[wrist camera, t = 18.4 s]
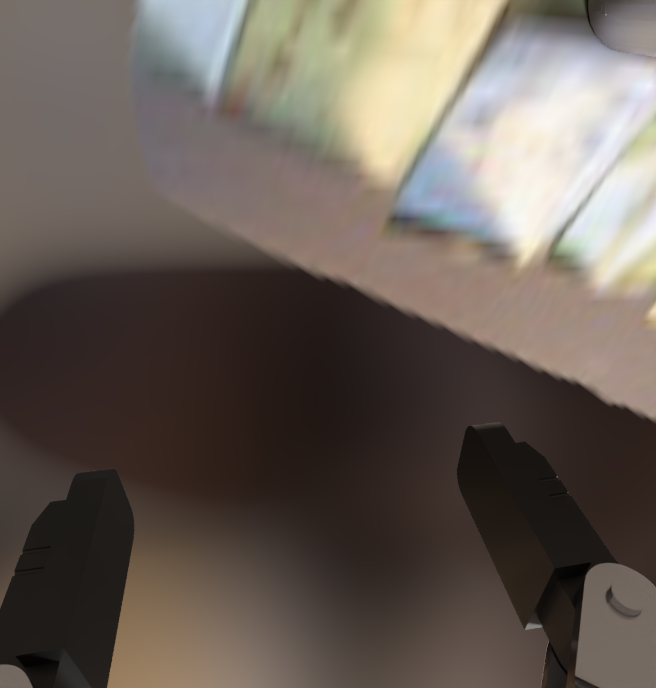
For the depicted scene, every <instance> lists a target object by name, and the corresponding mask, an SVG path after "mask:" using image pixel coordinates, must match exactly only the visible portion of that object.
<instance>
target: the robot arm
mask: <svg viewBox="0 0 656 688" xmlns="http://www.w3.org/2000/svg"><path fill="white" fill-rule="evenodd" d="M588 12H589V18H590V23H591V26H592V28H593V30H594V33H595V35H596V36H597V37H598V39H599V40H600V41H601V42H602V44H604V45H605V46H607V47H609V48H610V49H612V50H616V51H620V52H626V53H633V54H641V55H648V56H654V57H656V0H588ZM457 480H458V485H459V488H460V492H461V494H462V496H463V499H464V501H465V503H466V505H467V507H468V509H469V512H470V514H471V516H472V518H473V520H474V522H475V524H476V527H477V529H478V531H479V533H480V535H481V537H482V540H483V542H484V544H485V546H486V548H487V550H488V552H489V554H490V557H491V559H492V561H493V563H494V565H495V567H496V569H497V572H498V574H499V576H500V578H501V580H502V582H503V584H504V587H505V589H506V591H507V593H508V595H509V597H510V600H511V602H512V604H513V606H514V608H515V610H516V613H517V615H518V617H519V619H520V621H521V623H522V625H523V627H524V630H527V629H533V628H539V627H543V629H544V631H545V633H546V635H547V637H548V638H549V642H548V645H547V650H546V656H545V663H544V670H543V676H542V683H541V688H656V587H655V586H654V585H653V584H652V583H651V582H650V581H649V580H648V579H646V578H645V577H644V576H643V575H641V574H640V573H638V572H636V571H635V570H633V569H631V568H628V567H626V566H623V565H620V564H619V563H618V562H617V561H616V560H615V559H614V557H613V556H612V555H611V553H610V552H609V550H608V549H607V548H606V546H605V545H604V543H603V542H602V540H601V539H600V537H599V536H598V534H597V533H596V531H595V530H594V529H593V527H592V526H591V524H590V523H589V521H588V520H587V518H586V517H585V515H584V514H583V513H582V511H581V510H580V508H579V507H578V505H577V504H576V502H575V501H574V499H573V498H572V496H569V494H568V491H567V489H566V488H565V486H564V485H563V483H562V482H561V480H558V476H557V474H556V473H555V472H554V470H553V469H552V467H551V466H550V464H549V463H548V461H547V460H546V458H545V457H544V456H542V455H541V454H540V453H539V452H537V451H536V450H535V449H534V448H532V447H531V446H530V445H529V444H527V443H526V442H519V443H515V442H514V440H513V438H512V437H511V435H510V434H509V432H508V431H507V429H506V428H505V426H504V425H503V424H501V423H499V422H497V423H489V424H480V425H473V426H468V427H467V428H466V431H465V435H464V439H463V444H462V449H461V453H460V457H459V462H458V467H457ZM133 539H134V517H133V511H132V508H131V506H130V503H129V500H128V498H127V495H126V493H125V490H124V487H123V485H122V482H121V480H120V477H119V474H118V472H117V470H115V469H106V470H97V471H89V472H81V473H77V474H76V475H75V476H74V478H73V481H72V484H71V487H70V490H69V493H68V496H67V499H66V500H62V501H54V502H50V503H49V505H48V506H47V507H46V508H45V510H44V511H43V512H42V513H41V514H40V516H39V517H38V518H37V519H36V521H35V522H34V523H33V524H32V526H31V529H30V532H29V534H28V537H27V539H26V542H25V545H24V548H23V554H22V555H21V556H20V558H19V561H18V563H17V566H16V568H15V576H13V577H12V579H11V582H10V584H9V587H8V590H7V592H6V595H5V598H4V600H3V603H2V606H1V608H0V688H107V684H108V678H109V672H110V668H111V662H112V656H113V651H114V645H115V639H116V634H117V629H118V623H119V617H120V612H121V606H122V601H123V595H124V589H125V584H126V578H127V572H128V567H129V562H130V556H131V550H132V545H133Z"/></svg>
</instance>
